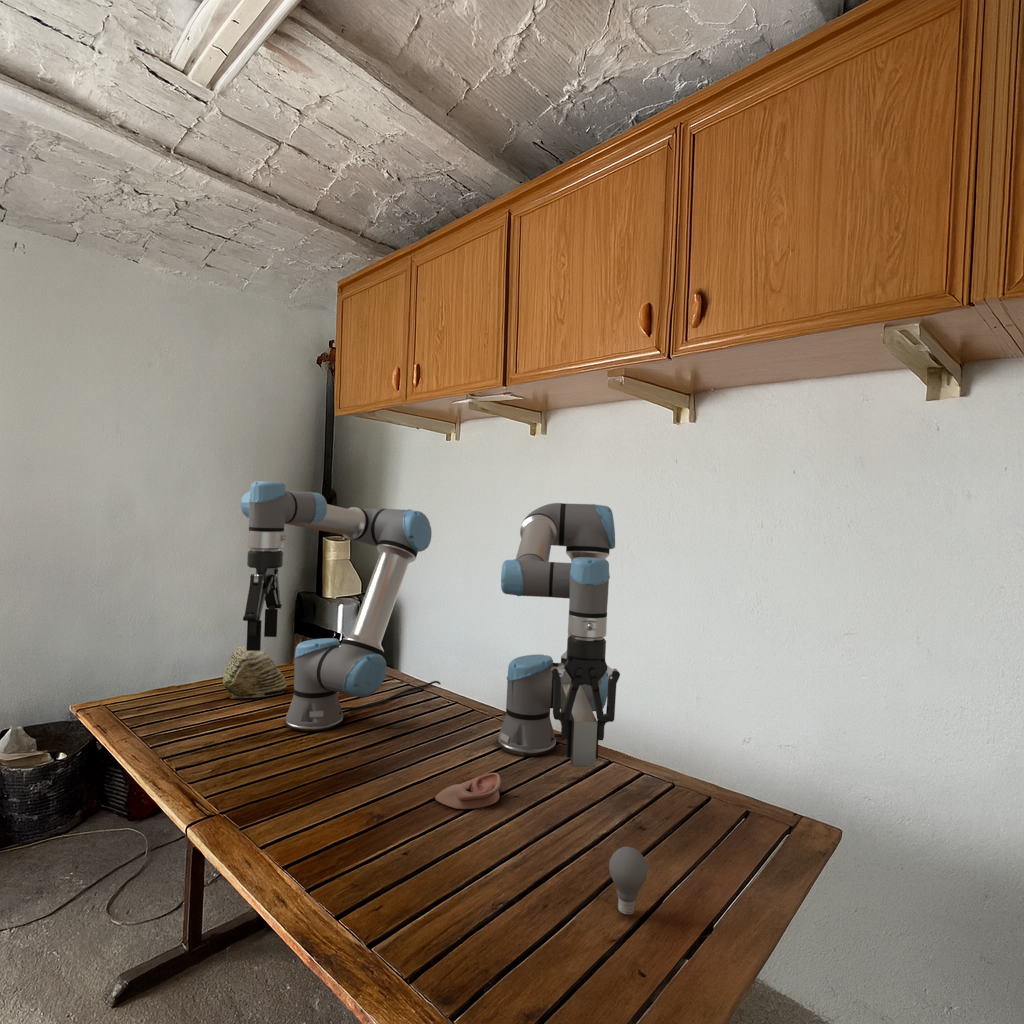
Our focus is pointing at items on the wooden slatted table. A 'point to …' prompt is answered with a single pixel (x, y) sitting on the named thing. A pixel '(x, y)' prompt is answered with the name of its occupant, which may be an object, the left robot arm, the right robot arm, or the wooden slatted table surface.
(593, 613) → the right robot arm
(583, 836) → the wooden slatted table surface
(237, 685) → the fossil
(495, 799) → the anatomical model
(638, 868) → the light bulb
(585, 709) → the bar
